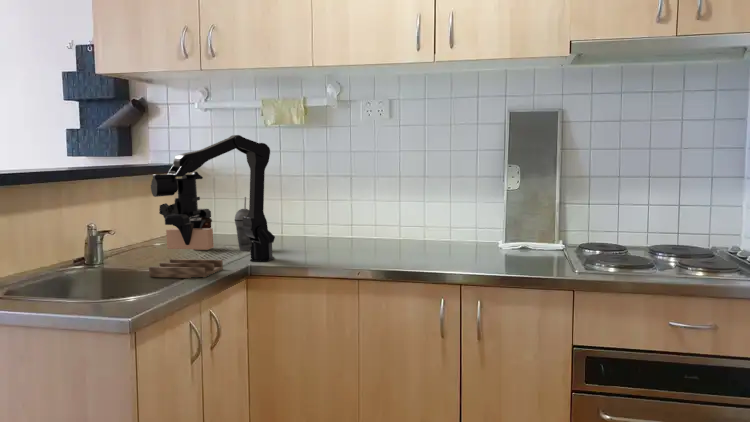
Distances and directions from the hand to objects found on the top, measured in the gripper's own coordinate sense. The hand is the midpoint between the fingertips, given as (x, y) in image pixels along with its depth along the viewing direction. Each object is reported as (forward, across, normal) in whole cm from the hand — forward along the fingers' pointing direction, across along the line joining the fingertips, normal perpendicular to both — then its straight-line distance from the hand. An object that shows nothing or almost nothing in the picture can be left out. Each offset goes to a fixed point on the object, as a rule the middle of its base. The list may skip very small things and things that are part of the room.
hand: (190, 243), depth 190 cm
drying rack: (+9, +3, 0) cm, 9 cm away
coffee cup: (+9, -37, -16) cm, 41 cm away
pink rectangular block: (+1, 0, 0) cm, 1 cm away
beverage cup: (+9, -37, +2) cm, 38 cm away
